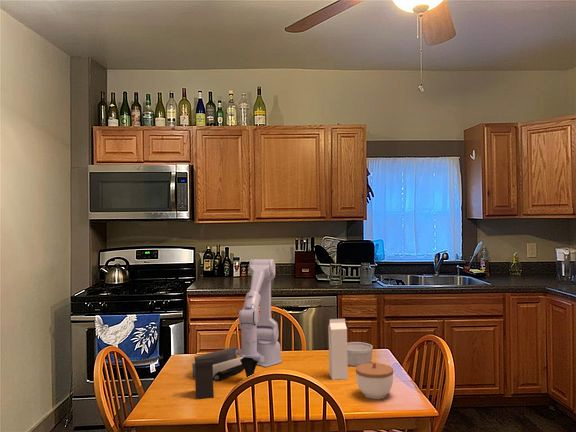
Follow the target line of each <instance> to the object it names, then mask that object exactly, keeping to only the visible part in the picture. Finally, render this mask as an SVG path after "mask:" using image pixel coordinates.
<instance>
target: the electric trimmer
mask: <svg viewBox="0 0 576 432" xmlns="http://www.w3.org/2000/svg"><path fill="white" fill-rule="evenodd" d="M243 371H245V369H244V367H243V365H242V364H240V365H238V366H235V367H232V368H229V369H226V370H224V371H222V372H217V373H216V374H215V375H214V377H213V382H221V381H222V380H224V379H226V378H228V377H230V376H231V377H232V376H236V375H237V374H239V373H241V372H243Z"/></svg>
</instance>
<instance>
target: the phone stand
mask: <svg viewBox="0 0 576 432" xmlns="http://www.w3.org/2000/svg"><path fill="white" fill-rule="evenodd" d="M194 362H195V379H194V380H195V384H194V386H195V400H202V399H203V400H204V399H213V398H215V397H214V394H215V392H214V380H213V360H212V359H201V360H195V359H194Z"/></svg>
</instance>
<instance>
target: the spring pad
mask: <svg viewBox="0 0 576 432" xmlns="http://www.w3.org/2000/svg"><path fill="white" fill-rule="evenodd" d="M240 359H243V357H240V356H239V357H236V359H232V360H229V361H225V362H222V363H218V364H214V365H213V377H214V375H215V374H216V373H217V372H222V371H224V370H226V369H229V368H232V367H235V366H238V365H240V364H242V363H241V361H240Z"/></svg>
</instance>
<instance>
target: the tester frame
mask: <svg viewBox="0 0 576 432" xmlns="http://www.w3.org/2000/svg"><path fill="white" fill-rule="evenodd" d="M235 350H237V347H234V346H231V347H228V348H224V349H220V350H215V351H212V352H208V353H205V354H201V355H196V356H194V361H192V362H191V363H192V365H191V366H192V378H195V360H201V359H212V360H213V365H214V364H218V363H222V362H225V361H229V360H232V359H236V358H237V355H235Z"/></svg>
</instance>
